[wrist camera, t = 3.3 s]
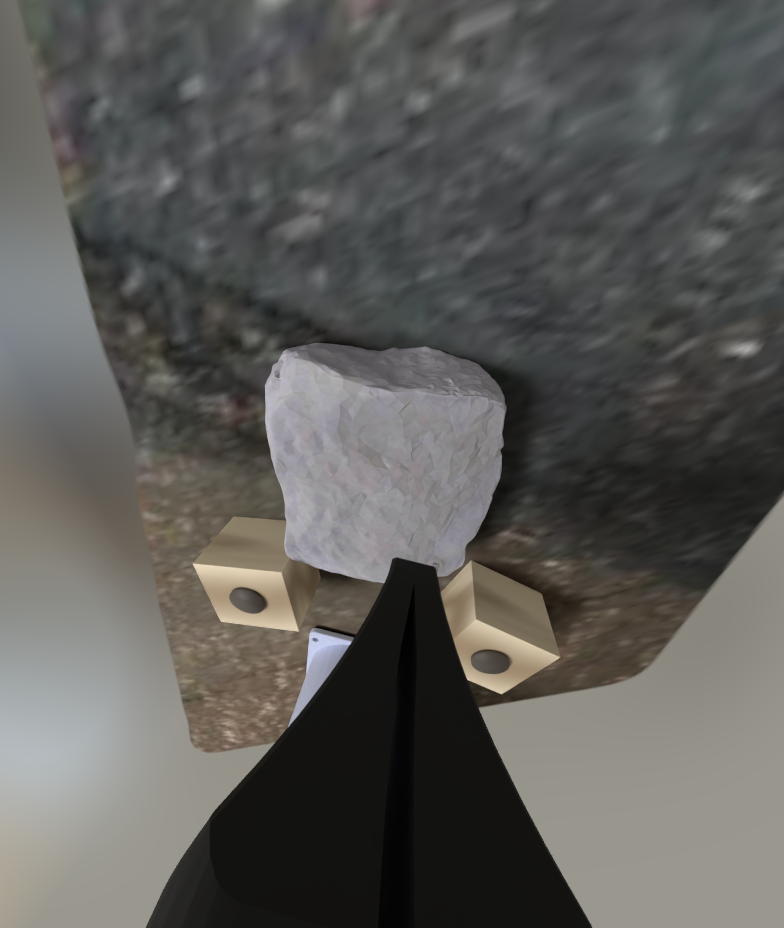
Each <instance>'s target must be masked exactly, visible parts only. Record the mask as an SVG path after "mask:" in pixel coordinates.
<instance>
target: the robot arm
mask: <svg viewBox="0 0 784 928" xmlns="http://www.w3.org/2000/svg"><path fill="white" fill-rule="evenodd" d="M146 928H592V926H591V924H590V922H589V921H588V919H587V917H586V915H585V913H584V912H583V910H582V908H581V906H580V905H579V903H578V901H577V899H576V898H575V896H574V894H573V893H572V891H571V889H570V887H569V886H568V884H567V882H566V880H565V879H564V877H563V875H562V873H561V872H560V870H559V868H558V866H557V864H556V863H555V861H554V859H553V857H552V856H551V854H550V852H549V850H548V848H547V847H546V845H545V843H544V841H543V839H542V837H541V835H540V834H539V832H538V830H537V828H536V826H535V824H534V822H533V820H532V819H531V817H530V815H529V813H528V811H527V809H526V807H525V806H524V804H523V802H522V800H521V798H520V796H519V794H518V792H517V789H516V787H515V785H514V783H513V782H512V779H511V777H510V775H509V773H508V771H507V769H506V767H505V765H504V764H503V761H502V759H501V757H500V756H499V753H498V751H497V749H496V747H495V745H494V742H493V740H492V738H491V736H490V733H489V731H488V729H487V727H486V724H485V722H484V720H483V718H482V715H481V713H480V711H479V708H478V706H477V703H476V701H475V698H474V696H473V693H472V691H471V688H470V686H469V683H468V680H467V678H466V675H465V672H464V670H463V667H462V664H461V661H460V658H459V655H458V652H457V649H456V646H455V643H454V640H453V637H452V633H451V630H450V627H449V623H448V620H447V616H446V613H445V609H444V605H443V601H442V597H441V592H440V588H439V582H438V577H437V570H436V569H435V567H434V566H430V565H426V564H422V563H418V562H414V561H410V560H406V559H402V558H398V557H396V558H393V559H392V562H391V566H390V570H389V573H388V576H387V578H386V581H385V583H384V585H383V587H382V589H381V592H380V594H379V596H378V598H377V599H376V601H375V603H374V605H373V607H372V609H371V611H370V613H369V614H368V616H367V618H366V620H365V621H364V623H363V624H362V626H361V628H360V629H359V631H358V633H357V634H356V636H355V637H350V636H346V635H342V634H338V633H334V632H330V631H327V630H323V629H319V628H313V629H312V630H311V632H310V636H309V648H308V659H307V671H306V678H305V681H304V683H303V686H302V689H301V692H300V695H299V698H298V700H297V703H296V706H295V709H294V712H293V715H292V717H291V720H290V723H289V726H288V728H287V729H286V730H285V732H284V733H283V734H282V735H281V736H280V738H279V739H278V740H277V741H276V742H275V744H274V745H273V746H272V747H271V748H270V750H269V751H268V752H267V753H266V754H265V755H264V757H263V758H262V759H261V760H260V761H259V762H258V763H257V765H256V766H255V767H254V768H253V769H252V770H251V771H250V772H249V773H248V774H247V776H246V777H245V778H244V779H243V780H242V781H241V782H240V783H239V784H238V786H237V787H236V788H235V789H234V790H233V791H232V792H231V793H230V794H229V795H228V797H227V798H226V799H225V800H224V801H223V802H222V803H221V804H220V805H219V806H218V808H217V809H216V810H215V811H214V812H213V814H212V815H211V817H210V818H209V820H208V821H207V823H206V824H205V826H204V827H203V828H202V830H201V831H200V832H199V834H198V836H197V837H196V838H195V839H194V841H193V842H192V844H191V846H190V847H189V848H188V850H187V851H186V853H185V854H184V855H183V857H182V858H181V860H180V862H179V863H178V865H177V866H176V868H175V870H174V871H173V873H172V875H171V876H170V878H169V880H168V882H167V884H166V886H165V888H164V890H163V892H162V894H161V896H160V898H159V900H158V902H157V905H156V907H155V909H154V911H153V914H152V916H151V918H150V920H149V922H148V924H147V926H146Z"/></svg>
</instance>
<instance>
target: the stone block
mask: <svg viewBox="0 0 784 928" xmlns="http://www.w3.org/2000/svg"><path fill="white" fill-rule="evenodd" d="M265 401H266V414H265V422H266V430H267V437H268V441H269V446H270V450H271V458H272V461H273V464H274V468H275V472H276V476H277V478H278V480H279V482H280V484H281V488H282V491H283V496H284V501H285V517H286V521H287V522H286V531H285V540H284V547H285V551H286V555H287V556H288V557H290V558H291V559H292V560H294V561H297V562H302V563H306V564H309V565H311V566H313V567H315V568H318V569H323V570H325V571H329V572H333V573H340V574H343V575H346V576H349V577H353V578H358V579H364V580H368V581H372V582H381V583H385V581H386V578H387V576H388V573H389V570H390V566H391V562H392V559H393V558H396V557H398V558H402V559H406V560H410V561H414V562H418V563H422V564H426V565H430V566H434V567H435V569H436V570H437V577H438V576H447V575H450V574H451V573H452V572H453V571H455V570H456V569H458V568H459V567H461V566H462V564H463V562H464V561H465V554H466V546H467V544H468V542H470V541H471V540H472V539H473V538H474V537H475V535H476V534H477V532H478V530H479V528H480V525H481V523H482V522H483V520H484V518H485V516H486V514H487V511H488V509H489V506H490V503H491V501H492V494H493V493H494V491H495V489H496V487H497V484H498V482H499V480H500V476H501V471H502V454H501V449H502V447H503V446H504V440H503V436H502V431H503V427H504V418H505V413H506V407H507V405H505V399H504V395H503V393H502V391H501V388H500V386H499V385H498V384H497V383H496V381H495V380H494V379H493V378H492V377H491V376H490V375H489V374H488V373H487V372H486V371H485V370H484V369H482V368H481V366H480V365H479V364H477V363H474V362H472V361H470V360H467V359H461V358H458V357H455V356H452V355H449V354H446V353H444V352H442V351H440V350H435V349H432V348H429V347H419V348H408V349H398V348H391V349H387V350H384V351H375V350H366V349H363V348H360V347H353V346H344V345H338V344H327V343H312V344H310V345H304V346H298V347H293V348H290V349H286V350H285V351H284V352H283V353H282V355H281V357H280V359H279V361H278V363H276V364H274V365H273V367H272V372H271V375H270V376H269V378H268V380H267V382H266V385H265Z"/></svg>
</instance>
